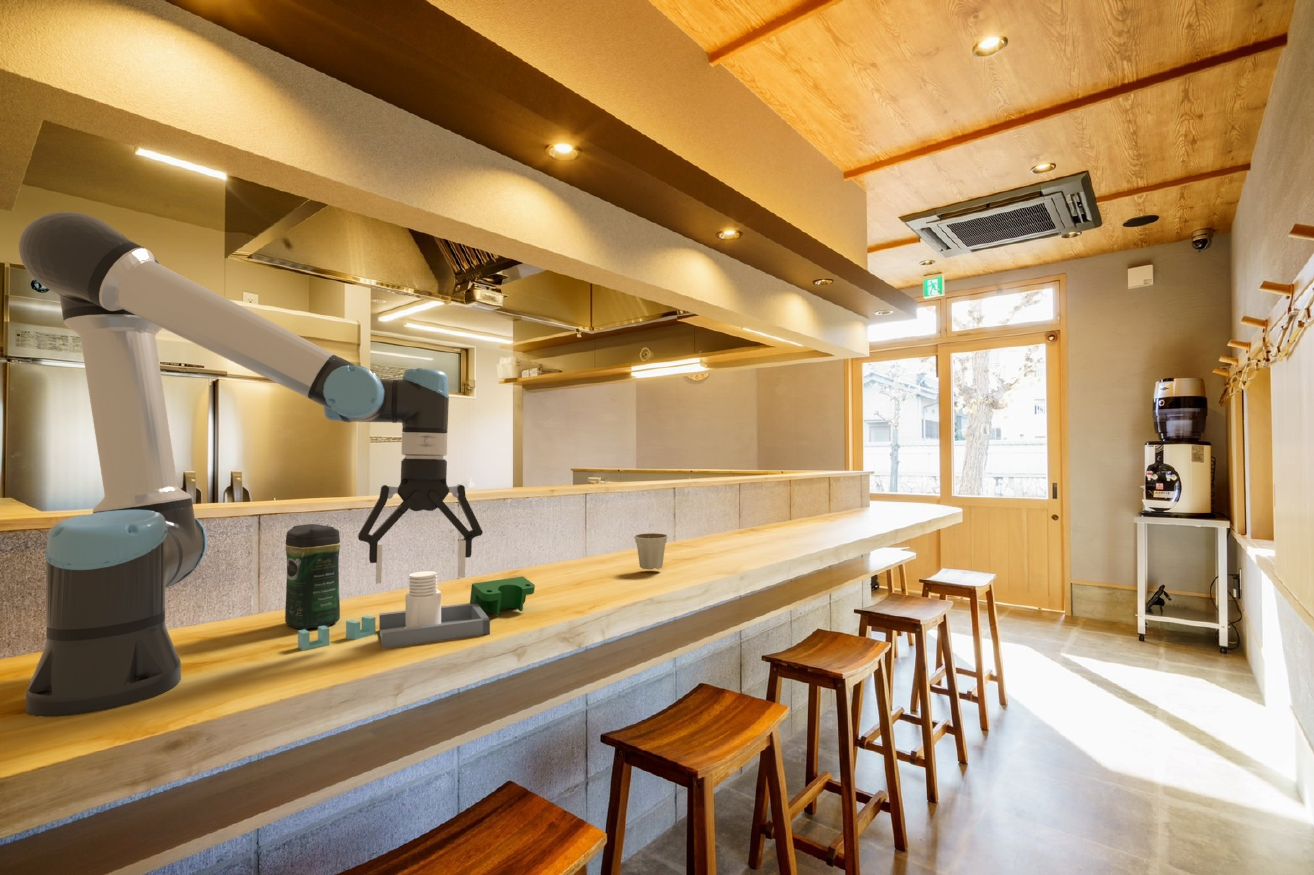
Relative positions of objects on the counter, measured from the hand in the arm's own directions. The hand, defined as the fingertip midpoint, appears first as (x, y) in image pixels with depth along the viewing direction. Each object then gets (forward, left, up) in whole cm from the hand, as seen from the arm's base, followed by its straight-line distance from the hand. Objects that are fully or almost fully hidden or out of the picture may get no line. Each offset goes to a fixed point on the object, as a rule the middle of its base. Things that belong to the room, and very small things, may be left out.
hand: (421, 579), depth 107 cm
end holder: (+2, 0, -10) cm, 10 cm away
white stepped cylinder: (0, 0, -9) cm, 9 cm away
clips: (-13, +2, -10) cm, 17 cm away
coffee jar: (-17, +17, -10) cm, 26 cm away
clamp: (+18, +9, -11) cm, 23 cm away
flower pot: (+62, +35, -10) cm, 71 cm away
